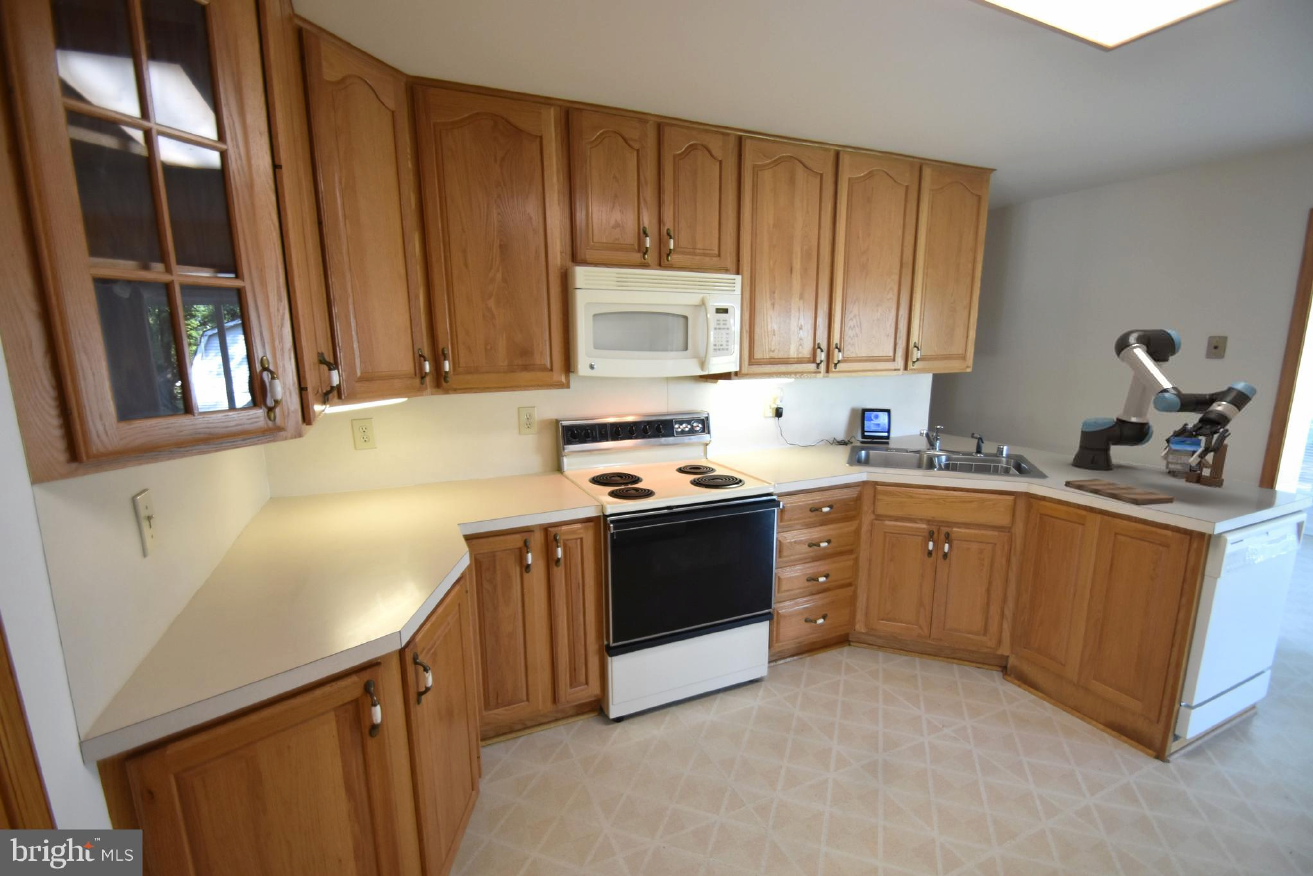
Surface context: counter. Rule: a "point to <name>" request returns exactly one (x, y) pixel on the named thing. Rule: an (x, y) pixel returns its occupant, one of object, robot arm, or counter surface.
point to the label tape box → (1183, 454)
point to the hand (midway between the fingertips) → (1176, 460)
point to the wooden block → (1215, 471)
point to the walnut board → (1119, 492)
